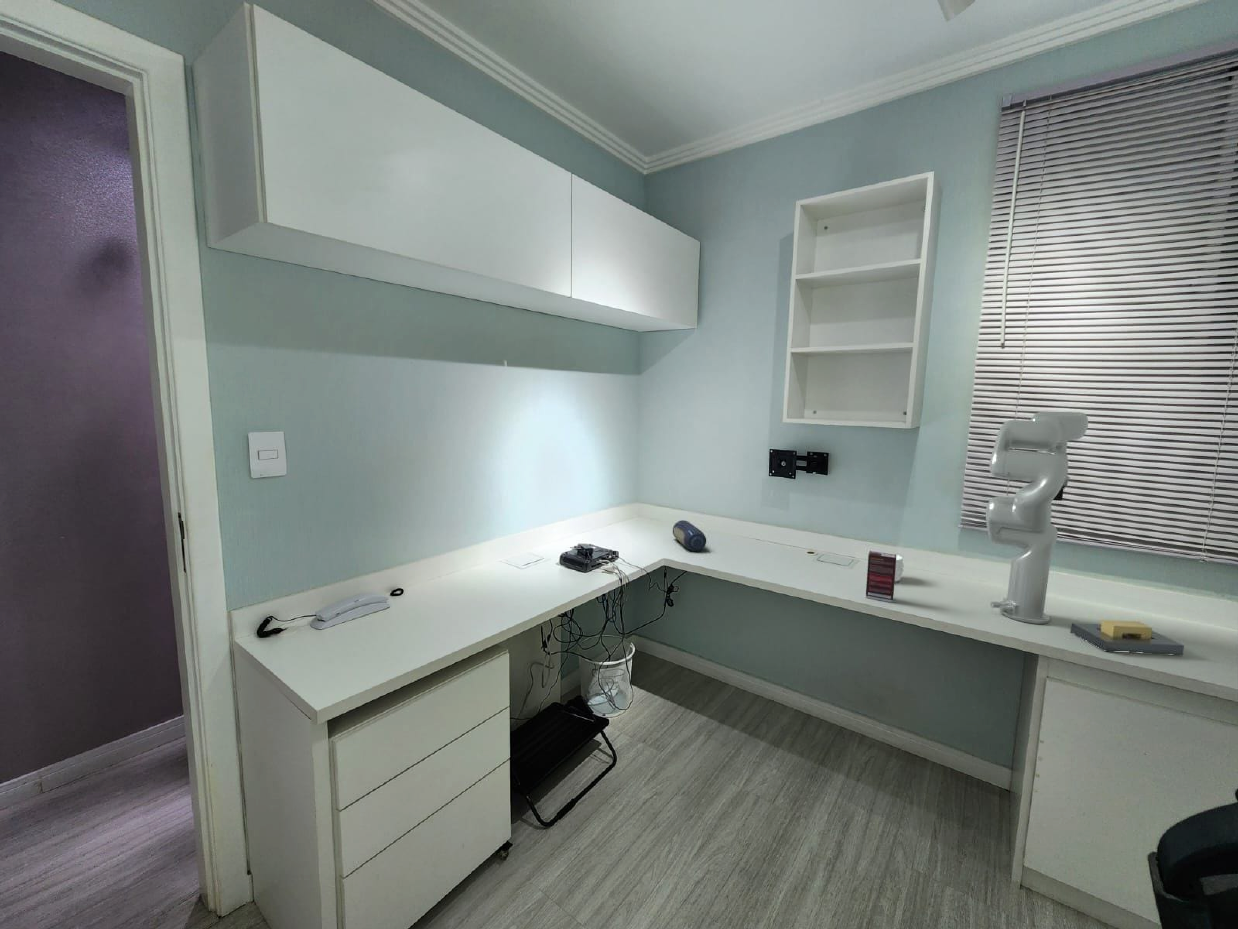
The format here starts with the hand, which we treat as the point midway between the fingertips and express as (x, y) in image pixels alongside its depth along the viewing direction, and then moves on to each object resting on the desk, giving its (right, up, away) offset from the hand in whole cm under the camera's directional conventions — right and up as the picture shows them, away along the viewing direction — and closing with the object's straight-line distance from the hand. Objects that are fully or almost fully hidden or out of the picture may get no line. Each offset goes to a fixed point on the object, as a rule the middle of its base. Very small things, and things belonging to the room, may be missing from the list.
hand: (1045, 497), depth 178 cm
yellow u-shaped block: (-3, -40, -30) cm, 50 cm away
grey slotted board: (-3, -40, -30) cm, 50 cm away
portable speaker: (-115, -27, +61) cm, 134 cm away
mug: (-45, -33, +20) cm, 59 cm away
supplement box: (-57, -35, +1) cm, 67 cm away
